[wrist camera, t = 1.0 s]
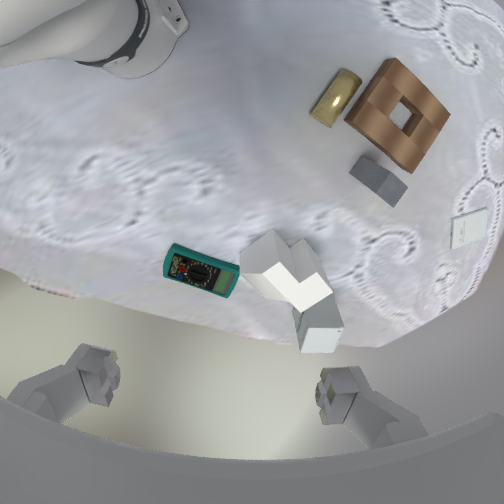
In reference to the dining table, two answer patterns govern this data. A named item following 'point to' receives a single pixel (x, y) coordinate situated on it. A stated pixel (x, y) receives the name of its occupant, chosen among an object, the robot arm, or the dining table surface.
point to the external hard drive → (468, 228)
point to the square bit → (379, 180)
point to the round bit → (336, 97)
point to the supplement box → (319, 326)
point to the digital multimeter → (200, 271)
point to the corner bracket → (285, 271)
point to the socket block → (382, 104)
